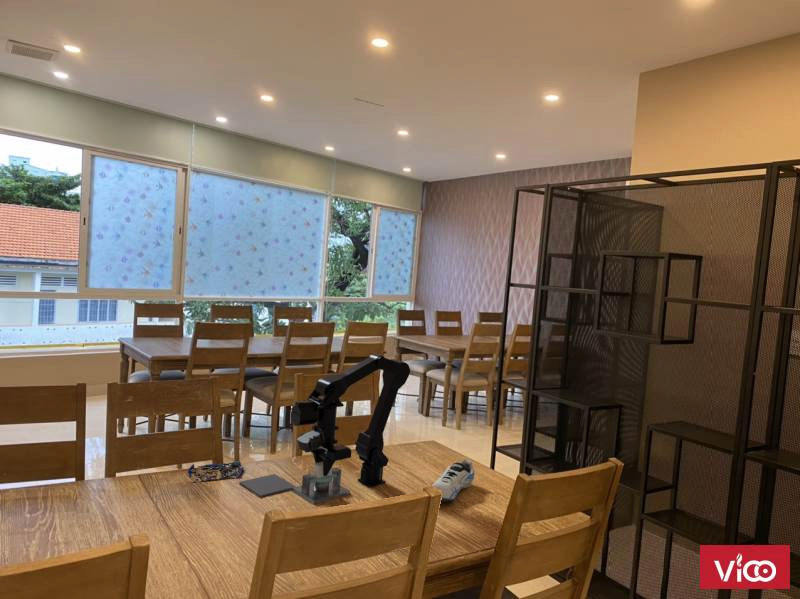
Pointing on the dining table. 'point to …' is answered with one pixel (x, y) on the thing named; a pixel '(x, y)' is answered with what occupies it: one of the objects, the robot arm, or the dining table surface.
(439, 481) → the running shoe
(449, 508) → the dining table surface
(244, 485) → the mat
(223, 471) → the dark blue patterned slab
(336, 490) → the grey plate with upright
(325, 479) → the cap
